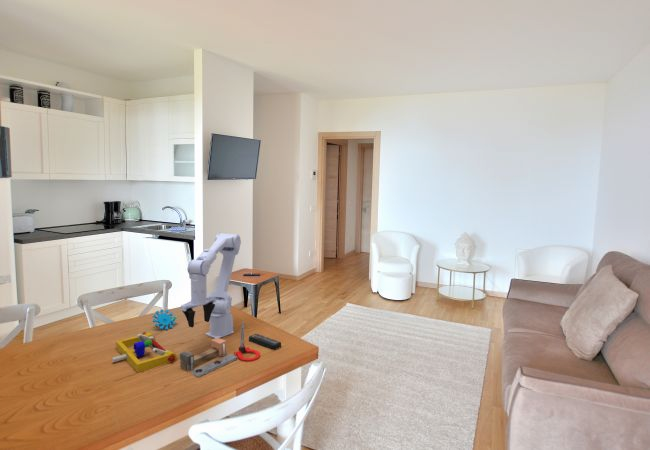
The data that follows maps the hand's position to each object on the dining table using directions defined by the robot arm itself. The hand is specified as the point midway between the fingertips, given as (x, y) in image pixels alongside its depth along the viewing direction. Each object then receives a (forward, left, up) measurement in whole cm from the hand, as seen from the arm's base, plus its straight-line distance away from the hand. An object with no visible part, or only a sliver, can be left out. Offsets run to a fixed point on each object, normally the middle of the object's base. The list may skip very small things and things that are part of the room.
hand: (199, 324), depth 155 cm
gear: (-4, -30, -11) cm, 32 cm away
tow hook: (-8, +19, -11) cm, 23 cm away
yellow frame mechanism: (+17, -14, -11) cm, 25 cm away
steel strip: (+5, +16, -10) cm, 20 cm away
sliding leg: (-2, +9, -10) cm, 14 cm away
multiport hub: (-20, +16, -11) cm, 28 cm away
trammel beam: (+5, +9, -10) cm, 15 cm away
